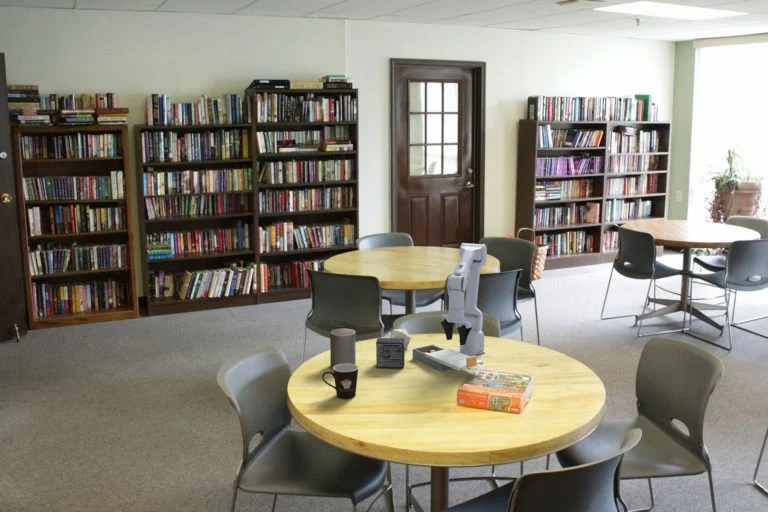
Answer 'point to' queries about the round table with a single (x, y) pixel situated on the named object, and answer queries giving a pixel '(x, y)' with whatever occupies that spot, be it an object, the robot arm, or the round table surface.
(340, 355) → the pillar candle
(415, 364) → the round table surface
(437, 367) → the tub
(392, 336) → the die
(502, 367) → the round table surface
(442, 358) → the lid
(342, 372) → the coffee mug
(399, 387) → the round table surface
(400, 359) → the small box
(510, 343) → the round table surface
